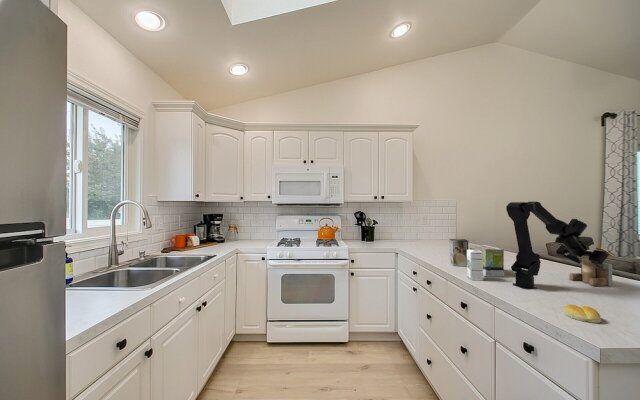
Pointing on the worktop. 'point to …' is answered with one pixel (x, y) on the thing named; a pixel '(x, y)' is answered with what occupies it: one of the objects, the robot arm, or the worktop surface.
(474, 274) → the syrup box
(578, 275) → the cradle
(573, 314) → the bread roll
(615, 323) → the worktop surface
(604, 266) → the backstop wall
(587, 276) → the dowel
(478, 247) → the tea box
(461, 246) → the coffee box
